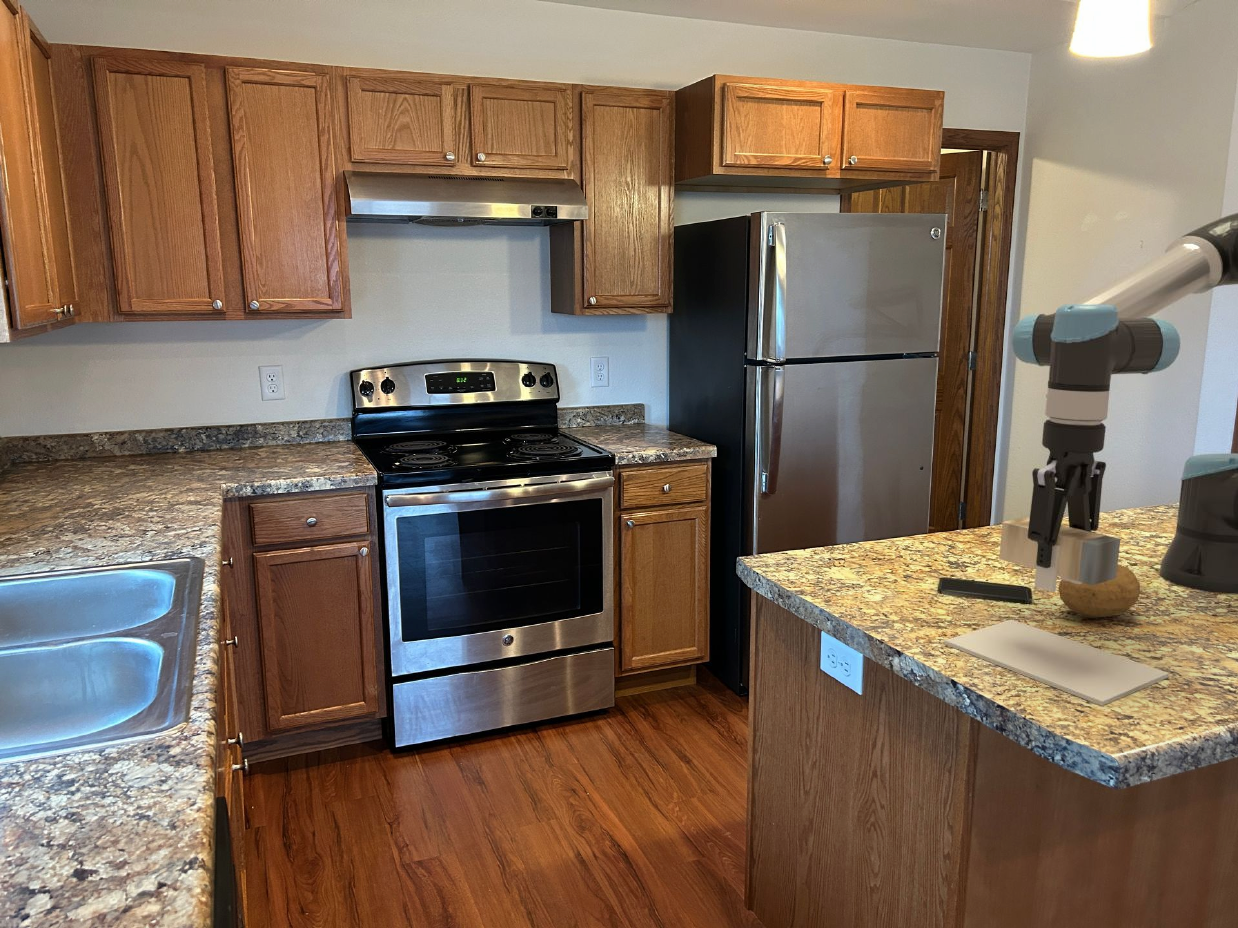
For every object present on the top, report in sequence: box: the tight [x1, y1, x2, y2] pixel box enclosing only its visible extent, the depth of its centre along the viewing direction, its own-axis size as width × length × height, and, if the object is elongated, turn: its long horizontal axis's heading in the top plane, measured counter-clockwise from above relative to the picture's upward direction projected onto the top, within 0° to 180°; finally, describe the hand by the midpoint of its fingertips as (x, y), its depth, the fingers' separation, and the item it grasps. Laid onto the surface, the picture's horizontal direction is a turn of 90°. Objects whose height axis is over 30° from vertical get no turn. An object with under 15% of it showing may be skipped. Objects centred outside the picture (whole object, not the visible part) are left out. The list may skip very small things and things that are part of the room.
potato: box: [1057, 564, 1141, 619], centre depth 147 cm, size 10×14×8 cm
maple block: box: [998, 516, 1121, 585], centre depth 128 cm, size 6×6×14 cm
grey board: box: [944, 619, 1170, 707], centre depth 130 cm, size 24×16×1 cm, turn 33°
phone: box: [937, 576, 1033, 606], centre depth 159 cm, size 8×1×15 cm
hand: (1058, 584), depth 128 cm, fingers closed on maple block, 5 cm apart
